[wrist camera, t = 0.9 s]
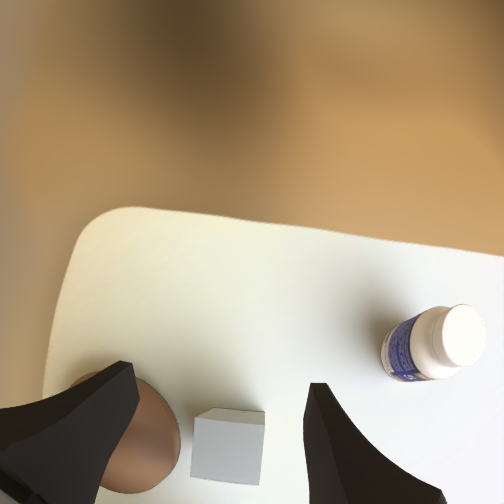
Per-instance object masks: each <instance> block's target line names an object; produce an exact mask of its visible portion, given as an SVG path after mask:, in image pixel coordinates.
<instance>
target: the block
mask: <svg viewBox="0 0 504 504" xmlns="http://www.w3.org/2000/svg"><path fill="white" fill-rule="evenodd" d="M264 429H265V412H255V411H243V410H233V409H224V408H216V407H214V408H212V409H210V410H208V411H207V412H205V413H203V414H201V415H199V416H197V417H195V422H194V433H193V446H192V459H191V474H190V477H194V478H200V479H206V480H213V481H220V482H227V483H236V484H247V485H259V480H260V470H261V460H262V450H263V440H264Z"/></svg>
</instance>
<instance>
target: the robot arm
mask: <svg viewBox="0 0 504 504" xmlns="http://www.w3.org/2000/svg"><path fill="white" fill-rule="evenodd" d="M139 400H140V396H139V392H138V387H137V383H136V378H135V374H134V369H133V364H132V363H129V362H125V361H118V362H116V363H114V364H112V365H111V366H109V367H107V368H105V369H104V370H102V371H100V372H99V373H97V374H95V375H94V376H92V377H90V378H88V379H87V380H85V381H83V382H81V383H79V384H77V385H75V386H73V387H71V388H69V389H67V390H65V391H63V392H61V393H59V394H57V395H54V396H52V397H49V398H46V399H43V400H40V401H37V402H34V403H29V404H26V405H22V406H16V407H10V408H3V409H0V504H94V503H95V499H96V495H97V492H98V489H99V486H100V483H101V480H102V477H103V474H104V472H105V469H106V467H107V464H108V462H109V459H110V457H111V455H112V453H113V452H114V450H115V448H116V446H117V445H118V443H119V441H120V439H121V438H122V436H123V434H124V432H125V431H126V429H127V427H128V425H129V424H130V422H131V420H132V418H133V416H134V414H135V411H136V409H137V406H138V403H139ZM303 440H304V449H305V456H306V464H307V472H308V480H309V493H310V494H309V504H447V502H446V499H445V497H444V495H443V493H442V491H441V489H438V488H436V487H434V486H432V485H430V484H427V483H425V482H423V481H421V480H419V479H417V478H416V477H414V476H412V475H411V474H409V473H407V472H406V471H404V470H403V469H401V468H400V467H399V466H397V465H396V464H394V463H393V462H392V461H390V460H389V459H388V458H386V457H385V456H384V455H383V454H382V453H381V452H380V451H378V450H377V449H376V448H375V447H374V446H373V445H372V444H371V443H370V442H369V441H368V440H367V439H366V438H365V436H364V435H363V434H362V433H361V432H360V431H359V429H358V428H357V427H356V426H355V425H354V423H353V422H352V421H351V419H350V418H349V417H348V415H347V414H346V413H345V411H344V410H343V408H342V407H341V405H340V404H339V402H338V401H337V399H336V398H335V396H334V394H333V393H332V391H331V389H330V388H329V386H328V385H327V384H326V383H310V388H309V393H308V398H307V403H306V408H305V413H304V417H303Z"/></svg>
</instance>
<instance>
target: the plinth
mask: <svg viewBox="0 0 504 504" xmlns="http://www.w3.org/2000/svg"><path fill="white" fill-rule="evenodd" d="M97 373H99V372H93V373H90V374H87V375H85V376H83V377H81V378H79V379H78V380H77V381H75V382H74V383H73V384H72V385H71V387H73V386H75V385H77V384H79V383H81V382H83V381H85V380H87V379H88V378H90V377H92V376H94V375H95V374H97ZM135 378H136V377H135ZM136 383H137V387H138V392H139V396H140V400H139V403H138V406H137V409H136V411H135V414H134V416H133V418H132V420H131V422H130V424H129V425H128V427H127V429H126V431H125V432H124V434H123V436H122V438H121V439H120V441H119V443H118V445H117V446H116V448H115V450H114V452H113V453H112V455H111V457H110V459H109V462H108V464H107V467H106V469H105V472H104V474H103V477H102V480H101V483H100V486H102V487H104V488H106V489H108V490H111V491H115V492H119V493H125V494H134V493H141V492H144V491H147V490H149V489H152V488H153V487H155V486H156V485H158V484H159V483H160V482H161V481H162V480H164V479H165V478H166V477H167V476H168V475H169V474H170V473H171V471H172V470H173V469H174V467H175V465H176V463H177V461H178V458H179V454H180V447H181V439H180V431H179V428H178V424H177V421H176V418H175V416H174V414H173V412H172V410H171V408H170V407H169V405H168V404H167V402H166V401H165V400H164V398H163V397H162V396H161V395H160V394H159V393H158V392H157V391H156V390H155V389H154V388H153V387H151V386H150V385H149V384H147V383H146V382H144V381H142V380H140V379H138V378H136ZM71 387H70V388H71Z"/></svg>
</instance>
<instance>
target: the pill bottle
mask: <svg viewBox="0 0 504 504" xmlns="http://www.w3.org/2000/svg"><path fill="white" fill-rule="evenodd" d="M485 340H486V331H485V325H484V322H483V320H482V318H481V316H480V314H479V313H478V312H477V310H476V309H474V308H473V307H471V306H469V305H466V304H460V305H456V306H454V307H451V308H449V307H444V306H439V307H434V308H431V309H429V310H427V311H424V312H423V313H421V314H419V315H417V316H415V317H413V318H411V319H409V320H407V321H405V322H403V323H401V324H399V325H397V326H396V327H394V328H393V329H392V330H391V331H390V332H389V333H388V334H387V335H386V337H385V339H384V341H383V344H382V349H381V359H382V363H383V366H384V368H385V370H386V372H387V373H388V374H389V375H390V376H391V377H392V378H394V379H395V380H398V381H401V382H414V381H426V380H437V379H444V378H447V377H450V376H452V375H453V374H455V373H456V372H457V371H458V370H459V369H460V368H461V367H463V366H467V365H470V364H472V363H473V362H475V361H476V360H477V359H478V358H479V356H480V355H481V353H482V351H483V349H484V345H485Z"/></svg>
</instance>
